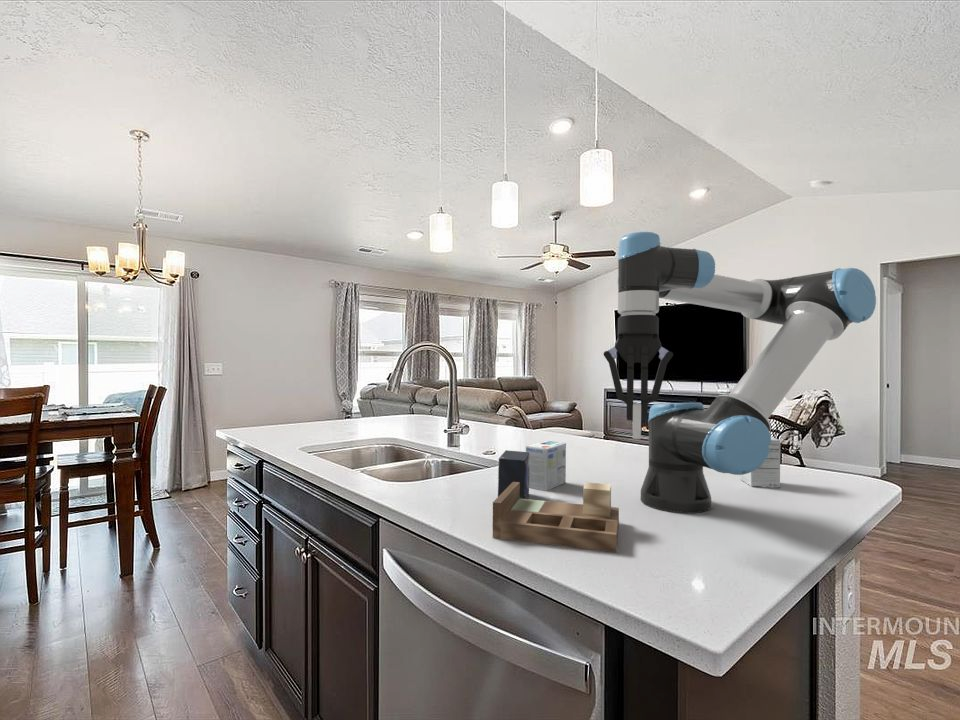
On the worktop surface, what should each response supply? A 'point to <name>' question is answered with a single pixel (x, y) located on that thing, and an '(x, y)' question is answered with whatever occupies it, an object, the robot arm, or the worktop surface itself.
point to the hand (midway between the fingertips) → (636, 437)
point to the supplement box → (766, 469)
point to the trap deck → (552, 522)
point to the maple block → (597, 499)
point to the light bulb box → (547, 465)
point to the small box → (514, 471)
